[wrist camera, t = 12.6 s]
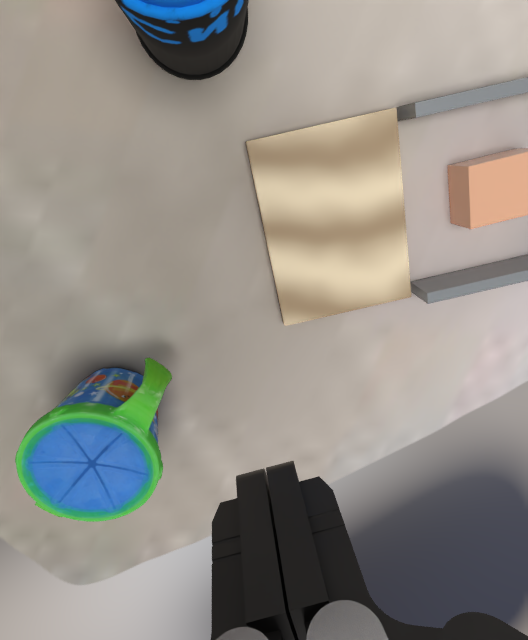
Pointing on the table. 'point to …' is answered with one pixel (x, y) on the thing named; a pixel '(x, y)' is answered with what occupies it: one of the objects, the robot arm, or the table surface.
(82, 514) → the snack cup
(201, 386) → the table surface
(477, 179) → the peach rectangular block
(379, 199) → the beige wooden board
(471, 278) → the box
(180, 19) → the aerosol can
